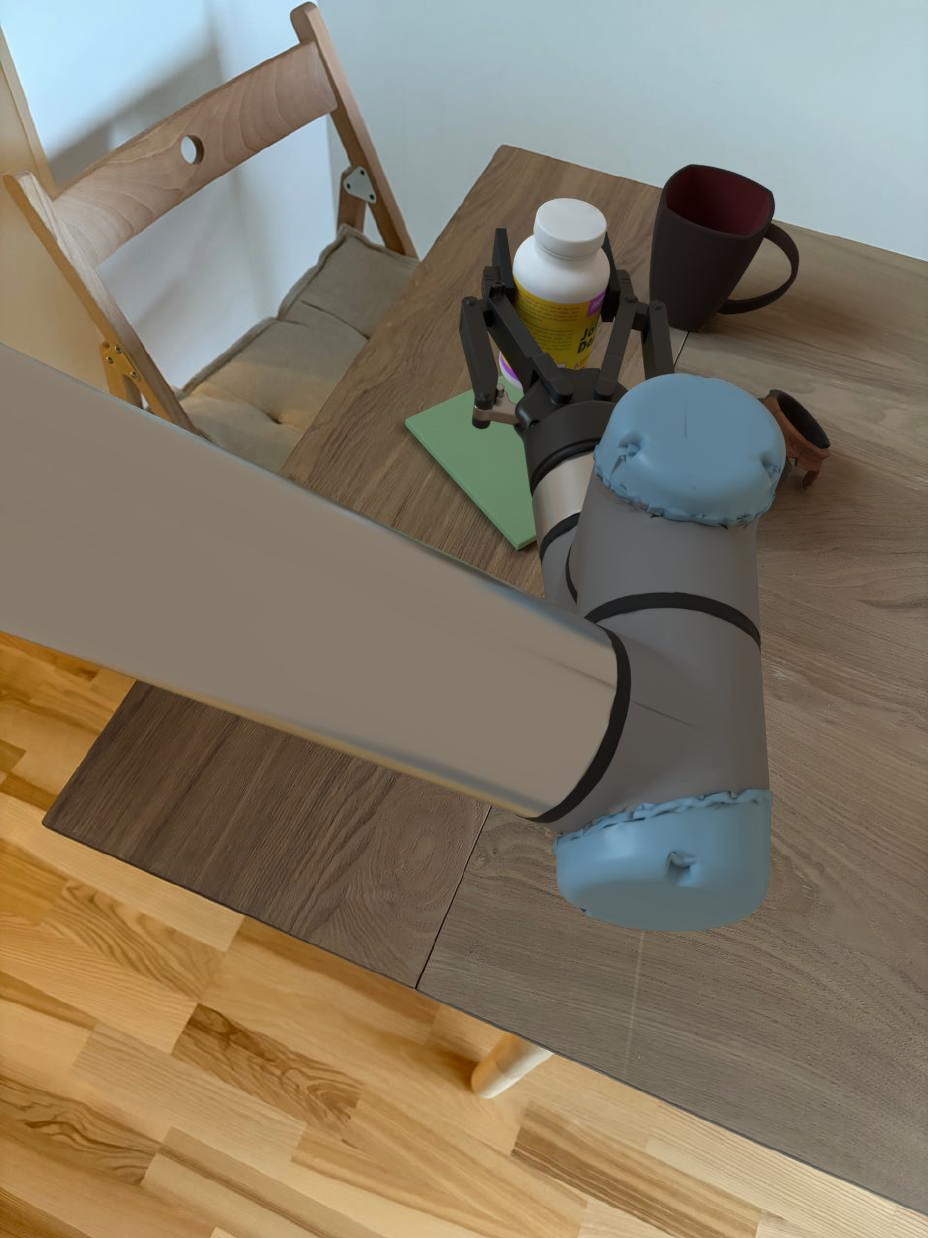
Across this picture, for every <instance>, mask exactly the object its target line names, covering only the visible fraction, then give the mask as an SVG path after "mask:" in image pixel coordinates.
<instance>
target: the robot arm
mask: <svg viewBox="0 0 928 1238" xmlns="http://www.w3.org/2000/svg"><path fill="white" fill-rule="evenodd" d="M493 239H494V240H493V247H492V256H491V265H485V266H484V268H483V270H482V277H481V283H480V291H481V298H479V299H478V298H477V297H476V296H473V295H467V296H464V297H463V298H462V299H461V304H460V315H459V316H460V317H459V326H458V333H459V336H460V341H461V345H462V350H463V354H464V358H465V361H466V366H467V370H468V375H469V379H470V382H471V387H472V389H473V391H474V395H475V399H474V407H473V415H472V425H473V426H474V427H475V428H478V429H486V428H488V427H489V426H490V423H491V421H494V422H499V423H504V424H509V425H513V427H514V430H515V431H516V433H517V434H518V435H519V436H520V437H521V439H522V441H523V443H524V450H525V458H526V465H527V472H528V480H529V487H530V493H531V496H532V498H533V499H532V508H533V515H534V523H535V530H536V538H537V540H536V543H537V550H538V551H537V552H538V558H539V561H540V562H539V563H540V566H541V576H542V583H543V591H544V598H542V597H540V596H538V595H536V594H534V593H532V592H529V591H527V590H525V589H524V588H521V587H520V586H517V585H514V584H512V583H510V582H508V581H506V580H505V579H503V578H500V577H498V576H495V575H494V574H492V573H489V572H487V571H485V570H483V569H481V568H479V567H476V566H475V565H473V564H470V563H468V562H466V561H464V560H462V559H459V558H458V557H455V556H454V555H451V554H449V553H447V552H445V551H443V550H441V549H439V548H436V547H434V546H432V545H430V544H428V543H426V542H423V541H421V540H420V539H417V538H415V537H413V536H412V535H411V536H410V535H409V534H407V533H405V532H402V531H401V530H399V529H397V528H394V527H392V526H390V525H387V524H386V523H384V522H382V521H379V520H378V519H376V518H373V517H371V516H369V515H366V514H364V513H362V512H360V511H358V510H356V509H354V508H352V507H350V506H348V505H346V504H343V503H341V502H339V501H337V500H335V499H332V498H331V497H328V496H326V495H324V494H323V493H320V492H318V491H316V490H314V489H311V488H310V487H307V486H305V485H303V484H301V483H299V482H297V481H295V480H293V479H291V478H288V477H286V476H284V475H282V474H280V473H277V472H275V471H273V470H272V469H269V468H267V467H266V466H263V465H261V464H258V463H257V462H254V461H252V460H250V459H248V458H246V457H243V456H242V455H240V454H238V453H236V452H233V451H231V450H229V449H227V448H225V447H223V446H220V445H219V444H217V443H214V442H213V441H210V440H208V439H206V438H204V437H201V436H199V435H198V434H196V433H193V432H191V431H189V430H188V429H184V428H182V427H181V426H178V425H176V424H175V423H172V422H170V421H168V420H166V419H163V418H161V417H159V416H157V415H155V414H153V413H150V412H149V411H147V410H145V409H142V408H140V407H138V406H136V405H134V404H132V403H130V402H128V401H125V400H124V399H121V398H119V397H117V396H115V395H113V394H111V393H108V392H107V391H104V390H102V389H100V388H98V387H96V386H94V385H92V384H90V383H87V382H85V381H83V380H81V379H79V378H77V377H74V376H72V375H70V374H68V373H67V372H64V371H62V370H60V369H58V368H55V367H54V366H51V365H50V364H47V363H45V362H43V361H41V360H38V359H36V358H34V357H32V356H30V355H28V354H26V353H24V352H23V351H20V350H17V349H16V348H13V347H12V346H9V345H7V344H5V343H3V342H1V341H0V632H1V633H4V634H7V635H10V636H12V637H15V638H17V639H20V640H23V641H27V642H29V643H32V644H34V645H38V646H41V647H43V648H46V649H49V650H52V651H55V652H57V653H60V654H63V655H66V656H69V657H72V658H73V659H77V660H80V661H82V662H86V663H88V664H91V665H94V666H97V667H100V668H102V669H105V670H108V671H111V672H114V673H117V674H119V675H122V676H125V677H128V678H130V679H134V680H135V681H139V682H142V683H144V684H146V685H147V684H148V685H150V686H152V687H155V688H159V689H160V690H161V689H162V690H165V691H166V692H169V693H172V694H175V695H178V696H181V697H184V698H187V699H190V700H192V701H195V702H198V703H200V704H204V705H206V706H209V707H212V708H215V709H218V710H221V711H224V712H226V713H229V714H232V715H235V716H237V717H241V718H242V719H246V720H248V721H251V722H254V723H257V724H259V725H263V726H266V727H269V728H271V729H274V730H277V731H279V732H283V733H285V734H288V735H291V736H294V737H297V738H299V739H302V740H305V741H308V742H311V743H314V744H316V745H319V746H322V747H325V748H328V749H331V750H333V751H336V752H339V753H341V754H345V755H347V756H350V757H352V758H356V759H359V760H362V761H364V762H367V763H370V764H373V765H376V766H379V767H380V768H384V769H387V770H389V771H391V772H392V771H393V772H394V773H398V774H400V775H403V776H406V777H409V778H412V779H415V780H417V781H420V782H423V783H426V784H428V785H432V786H435V787H437V788H440V789H442V790H445V791H448V792H451V793H454V794H457V795H459V796H463V797H465V798H468V799H471V800H474V801H476V802H479V803H482V804H485V805H488V806H489V807H493V808H496V809H499V810H501V811H505V812H508V813H511V814H513V815H514V816H516V817H518V818H521V819H524V820H527V821H530V822H533V823H535V824H537V825H539V826H541V827H544V828H545V829H548V830H550V831H553V832H555V833H556V837H555V839H554V843H553V845H552V848H551V851H552V853H553V854H554V856H555V857H556V867H555V868H556V871H555V872H556V875H555V876H556V884H557V888H558V890H559V892H560V894H561V896H562V897H563V898H564V900H565V901H566V902H568V903H569V904H570V905H572V906H574V907H576V908H578V910H580V911H581V912H583V914H585V915H586V916H587V917H590V918H592V919H594V920H597V921H600V922H603V923H606V924H609V925H613V926H617V927H621V928H627V929H632V930H640V931H648V932H660V933H661V932H662V933H690V932H691V933H692V932H702V931H707V930H712V929H718V928H722V927H725V926H728V925H729V926H730V925H732V924H735V923H738V922H740V921H742V920H744V919H746V918H748V917H749V916H751V915H752V914H753V913H755V912H756V911H757V910H758V909H759V907H761V905H762V904H763V902H764V901H765V899H766V897H767V894H768V891H769V887H770V860H771V835H772V834H771V832H772V829H771V828H772V808H773V805H774V798H773V791H772V790H771V785H770V771H769V757H768V756H769V755H768V741H767V727H766V713H765V712H766V711H765V710H766V709H765V697H764V683H763V669H762V668H763V667H762V653H761V652H762V650H761V648H762V647H761V645H762V639H761V638H762V637H761V614H760V593H759V574H758V573H759V571H758V558H757V557H758V553H757V531H758V526H759V521H760V519H761V517H762V515H763V514H764V513H766V512H768V511H769V510H770V508H771V507H772V504H773V502H774V500H775V498H776V493H775V488H776V486H777V483H778V481H779V478H780V476H781V473H782V471H783V468H784V465H785V459H786V447H785V440H784V436H783V434H782V431H781V429H780V427H779V425H778V423H777V421H776V419H775V418H774V416H773V415H772V414H771V412H770V411H769V410H768V409H767V408H766V407H765V406H764V405H763V404H762V403H761V402H760V401H759V400H757V399H758V398H756V397H755V396H754V395H752V393H750V392H748V391H747V390H745V389H743V388H742V387H739V386H737V385H736V384H734V383H732V382H729V381H726V380H725V379H721V378H718V377H714V376H713V377H704V376H702V375H700V374H698V375H696V374H695V375H694V374H691V373H689V372H686V373H685V372H677V373H675V372H676V371H675V364H674V356H673V350H672V341H671V335H670V333H671V332H670V326H669V325H668V317H667V309H666V305H665V304H664V303H663V302H661V301H658V300H653V301H651V302H650V301H649V302H648V303H646V302H645V303H644V302H642V301H640V299H639V297H638V296H637V295H636V294H635V292H634V287H633V283H632V280H631V274H630V273H629V272H628V271H627V270H626V269H622V268H621V269H619V268H617V267H616V263H615V259H614V254H613V251H612V246H611V242H610V238H609V234H608V231H606V233H605V237H604V242H603V245H602V246H601V248H602V250H603V251H604V253H605V254H606V256H607V258H608V261H609V266H610V276H609V280H608V285H607V288H606V292H605V296H604V300H603V304H602V308H601V312H600V318H601V319H600V320H601V322H602V323H613V325H612V329H611V333H610V335H609V339H608V343H607V347H606V349H605V352H604V356H603V360H602V362H601V366H600V367H587V368H585V369H579V370H574V369H569V368H564V367H558V366H557V365H556V363H555V362H554V360H553V359H552V357H551V356H550V354H549V353H547V352H546V353H543V352H542V350H541V349H540V347H539V346H538V344H537V343H536V341H535V340H534V338H533V336H532V335H531V333H530V332H529V330H528V329H527V327H526V326H525V324H524V323H523V321H522V320H521V318H520V317H519V315H518V314H517V312H516V311H515V309H514V308H513V306H512V305H513V298H514V292H515V284H514V277H513V264H512V257H511V252H510V244H509V237H508V231H507V228H506V227H496V228H495V231H494V238H493ZM632 330H633V331H636V332H637V331H638V332H640V333H639V334H640V342H641V343H640V345H641V352H642V353H641V354H642V363H643V371H644V372H643V373H644V381H642V382H639V383H638V384H636V385H635V386H633V387H632V388H631V389H628V388H626V387H625V386H624V385H623V384H621V383H620V382H619V381H618V380H619V376H620V373H621V368H622V366H623V361H624V358H625V353H626V350H627V346H628V343H629V338H630V335H631V331H632ZM490 337H491V339H492V340H493V342H494V344H495V345H496V348H497V349H498V350H499V352H500V351H501V353H502V355H503V356H504V358H505V359H506V361H507V363H508V364H509V366H510V367H511V369H512V370H513V372H514V374H515V375H516V377H517V378H518V380H519V382H520V383H521V385H522V387H523V394H524V396H523V397H522V398H521V399H520V401H519V402H518V403H517V404H515V403H513V402H511V401H510V400H509V398H508V393H507V392H506V391H505V390H504V389H505V386H504V385H503V384H501V383H498V377H499V371H498V366H497V362H496V358H495V355H494V350H493V346H492V343H491V339H490ZM497 383H498V384H497Z"/></svg>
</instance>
